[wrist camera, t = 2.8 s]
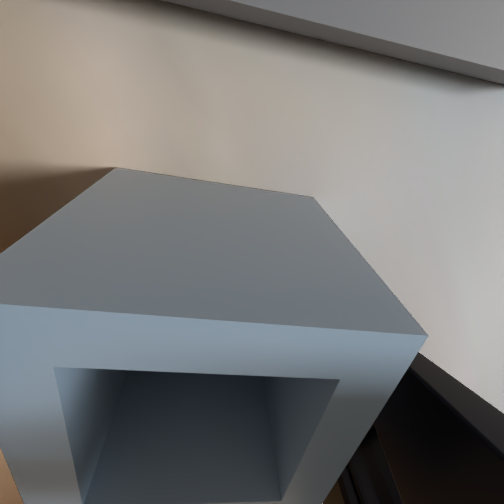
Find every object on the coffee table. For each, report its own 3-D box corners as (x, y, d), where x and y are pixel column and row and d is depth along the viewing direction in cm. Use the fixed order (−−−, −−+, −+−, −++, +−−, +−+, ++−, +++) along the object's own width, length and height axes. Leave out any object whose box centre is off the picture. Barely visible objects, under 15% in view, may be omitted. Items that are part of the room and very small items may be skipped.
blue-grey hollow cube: (313, 197, 9) (428, 336, 4) (273, 334, 12) (311, 519, 7) (115, 167, 8) (-62, 299, 3) (122, 324, 11) (35, 530, 6)
